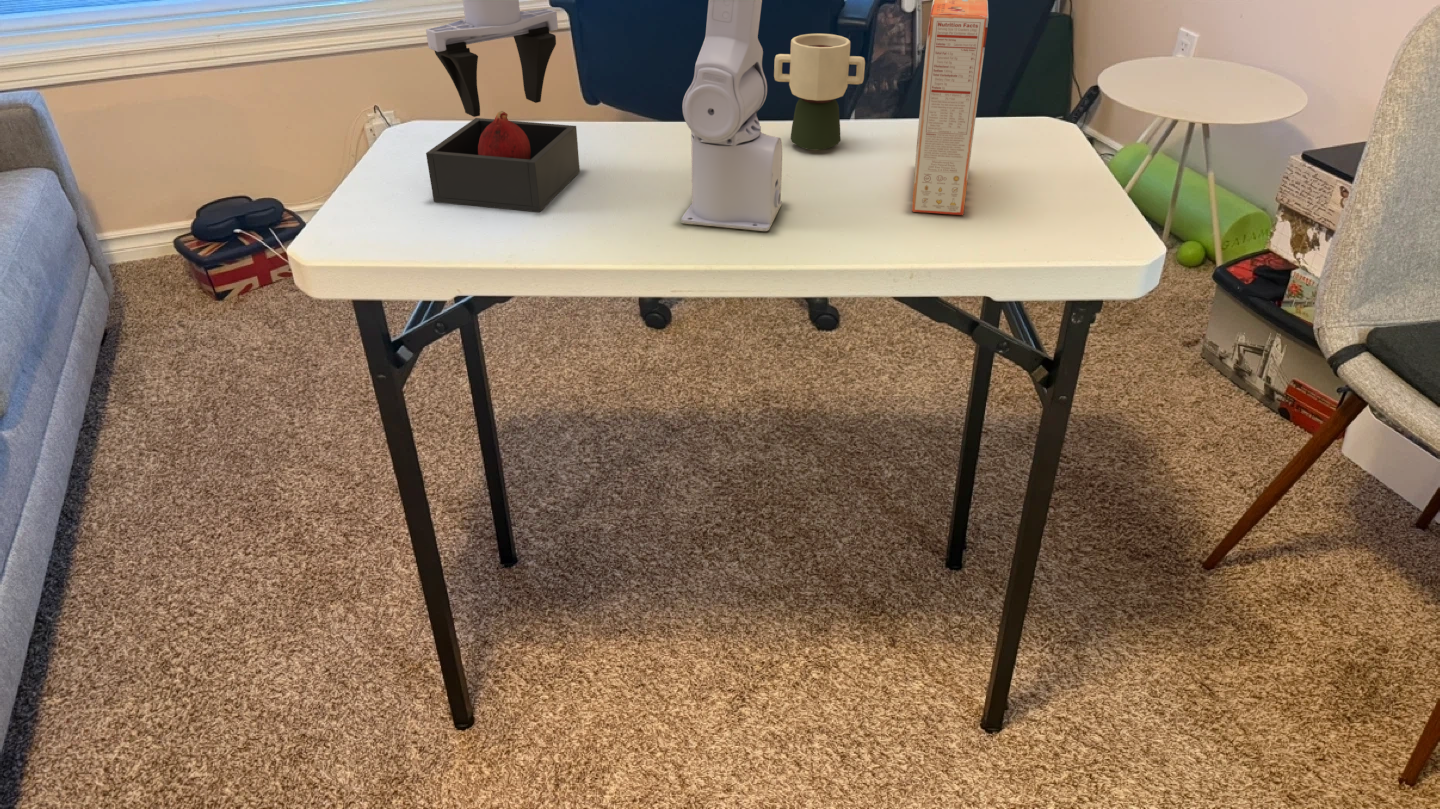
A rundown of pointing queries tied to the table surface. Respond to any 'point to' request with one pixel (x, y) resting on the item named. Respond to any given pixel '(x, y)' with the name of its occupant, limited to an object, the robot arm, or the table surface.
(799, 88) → the beige and green cup
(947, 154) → the cracker box
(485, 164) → the open storage bin
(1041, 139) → the table surface
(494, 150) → the onion
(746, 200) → the robot arm
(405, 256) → the table surface
